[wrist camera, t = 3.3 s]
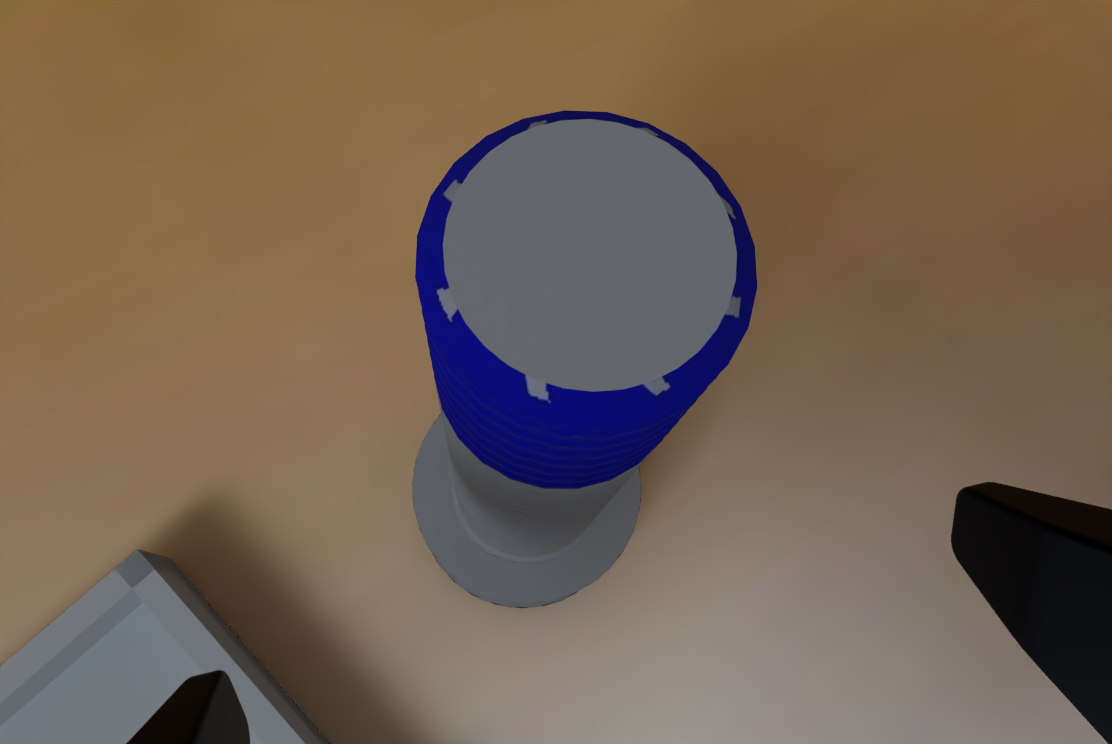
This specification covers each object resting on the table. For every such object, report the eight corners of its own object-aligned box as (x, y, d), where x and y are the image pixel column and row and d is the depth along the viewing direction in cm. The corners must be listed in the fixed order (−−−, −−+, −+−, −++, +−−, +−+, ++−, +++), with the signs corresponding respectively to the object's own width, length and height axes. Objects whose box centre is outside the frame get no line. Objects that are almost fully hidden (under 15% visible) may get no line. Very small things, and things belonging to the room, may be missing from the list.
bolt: (575, 381, 24) (652, 561, 23) (393, 451, 23) (464, 641, 22) (723, -50, 9) (968, 404, 8) (227, 99, 8) (422, 634, 7)
